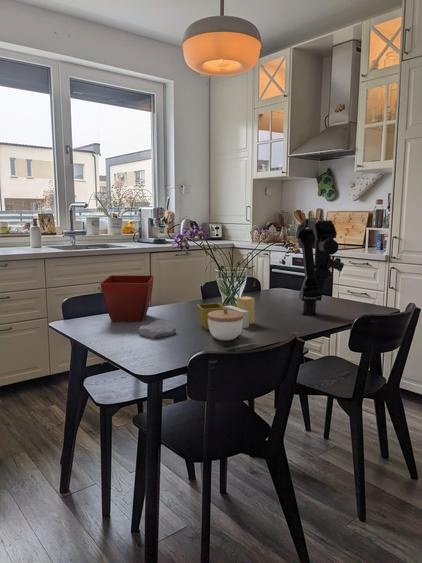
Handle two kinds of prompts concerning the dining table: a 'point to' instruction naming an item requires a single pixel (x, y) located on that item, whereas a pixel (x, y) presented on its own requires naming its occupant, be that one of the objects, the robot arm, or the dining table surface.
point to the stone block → (157, 329)
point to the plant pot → (127, 296)
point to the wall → (245, 315)
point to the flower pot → (205, 309)
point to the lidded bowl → (225, 324)
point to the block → (247, 306)
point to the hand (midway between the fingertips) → (320, 290)
